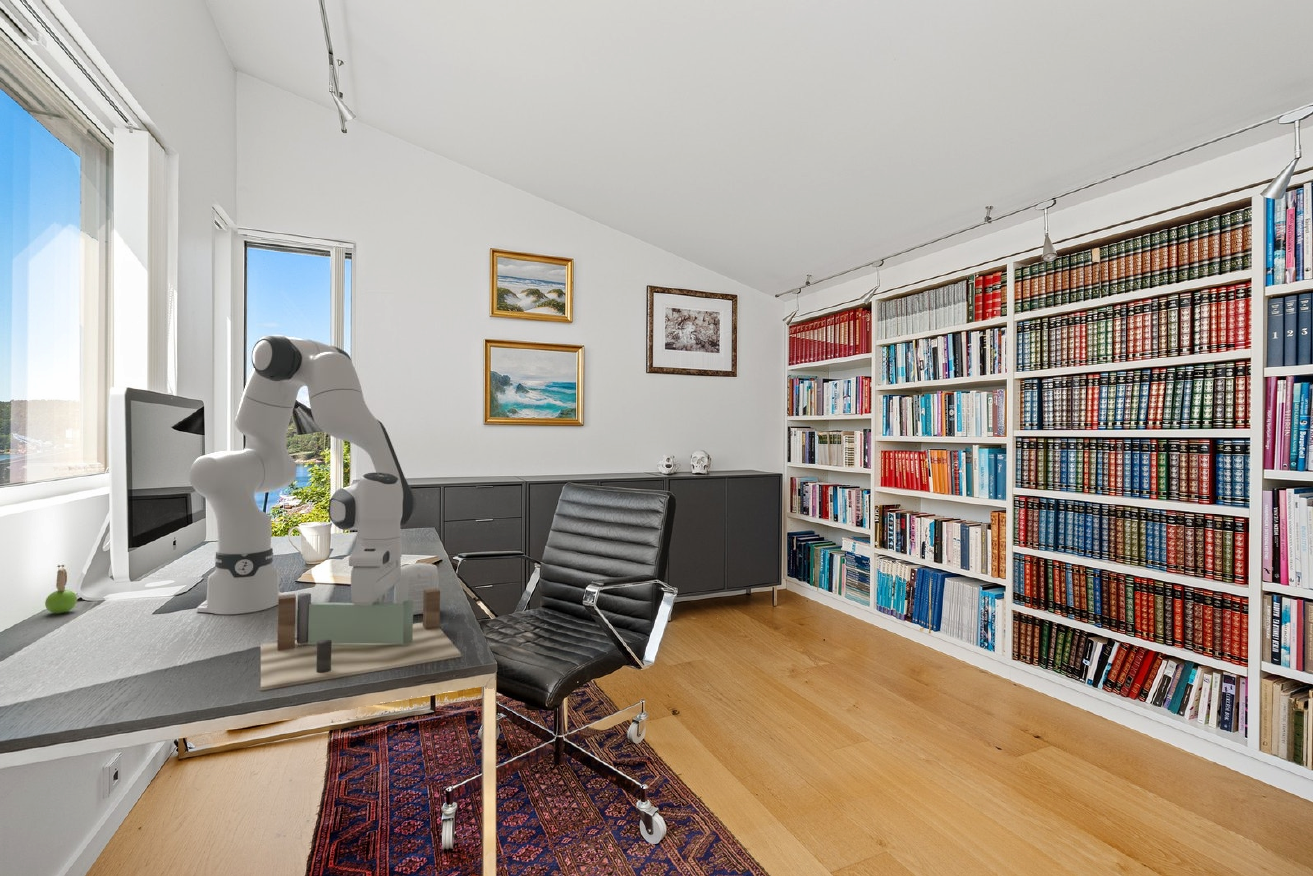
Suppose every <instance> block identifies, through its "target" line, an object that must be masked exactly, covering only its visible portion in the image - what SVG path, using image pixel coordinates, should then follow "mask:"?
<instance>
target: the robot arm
mask: <svg viewBox="0 0 1313 876" xmlns="http://www.w3.org/2000/svg"><path fill="white" fill-rule="evenodd" d="M251 364H252V366H253V369H252V371H251V373H250V375H249V378H248V379H247V382H246V384H245V387H244V390H243V393H242V396H241V399H240V402H239V405H238V409H237V412H236V416H235V418H234V424H235V425H234V426H236V429H237V430H238V431H239V432H240V433H241V434H242V435H244V436H245V446H244V449H243V450H223V451H218V452H212V453H210V454H209V453H208V454H206V455H201V456H199V457H198V458H196V459H195V460H194V461H193V463H192V464H191V467H190V469H189V476H188V477H189V481H190V485H191V487H192V489H194V491H195V492H196V493H198V494H199V495H201V496H202V497H203V498H205V500H207V502H208V504H210V506H211V508H212V510H213V512H214V514H215V517H216V523H217V524H216V525H217V551H216V552H215V557H214V563H215V565H214V566H215V570H214V571H213V572H212V573H210V575H209V576H207V580H206V584H207V585H206V588H207V589H206V600H204V601H203V602H201V604H199V605H198V606H197V607H196V612H197V613H211V614H216V615H238V614H241V615H242V614H248V613H254V612H260V611H263V610H268V609H270V608H273V607H276V606H278V596H280V595H284V593H282V592H281V591H280V571H279V570H278V569H277V568H276V567H275V566H274V565H273V564H272V563H273V562H274V561H273V559H274V550H273V548H272V519H271V517H270V515H269V514H268V513H266V512H265V511H262V510H261V509H260V508H259V506H258V504H257V503H256V499H255V494H262V493H272V492H275V491H278V490H281V489H284V488H286V487H288V486H290V485H292V483H293V482H294V480H295V479H296V477H297V465H296V462H295V460H294V458H293V456H291V455H290V453H289V451H288V447H287V433H288V430H289V429H288V428H289V425H290V422H291V418H292V415H293V411H294V408H295V405H296V402H297V397H298V393H299V392H300V390H301V388H302V387H304V386H306V387H307V395H308V400H309V405H310V410H311V415H312V418H313V421H314V423H315V424H316V426H317V427H318V428H319V429H320V430H321V431H323V432H324V433H325V434H327V435H328V436H331V437H333V438H335V439H338V440H340V441H341V440H342V441H346V442H348V443H350V444H353V445H355V446H357V447H359V448H360V449H362V450H364V451H365V452H366V453H367V454H368V455H369V457H370V459H371V460H370V461H371V462H372V464H373V467H374V470H375V472H368V473H365V474H363V475H362V476H361V477H360V478H359V481H357V482H356V483H353V484H351V485H348V486H345V487H340V488H339V489H337V490H336V491H335V492H334V493H333V495H331V498H330V499H329V503H328V518H329V519H330V521H331V523H332V524H333V525H334V526H336V527H337V528H338V529H340V530H344V531H345V530H346V531H354V530H355V531H357V535H356V543H355V546H354V548H353V550H352V552H351V554H350V555H349V557H348V566H349V567H352V568H351V573H350V597H351V601H352V603H354V605H371V604H372V603H386V599H387V595H388V591H389V590H391V589H392V588H393V587H394V586H395V585H396V584H397V583H398V582H399V581H400V578H401V567H402V564H401V558H402V554H403V553H402V548H403V545H402V544H403V543H402V542H403V541H402V540H403V532H402V528H401V527H404V526H405V525H407V524H408V522H409V521H410V520H411V519H412V517H413V516H414V514H415V512H416V510H417V499H416V496H415V495H416V494H415V493H414V491H413V490H412V488H411V486H410V485H409V483H408V481H407V479H406V477H405V474H404V472H403V470H402V467H401V465H400V462H399V459H398V457H397V454H396V451H395V449H394V446H393V443H392V441H391V439H390V436H389V433H388V431H387V429H386V427H385V426H384V424H383V423H382V422H381V421H380V420H379V419H377V418H376V417H375V416H374V414H372V412H371V411H370V409H369V407H368V405H367V404H366V401H365V399H364V395H363V390H362V386H361V382H360V378H359V377H358V374H357V371H356V369H355V366H354V364H353V362H352V359H351V357H350V355H349V354H348V352H346V351H344V350H343V349H342V348H340V347H337V346H335V345H329V344H325V343H323V342H320V341H319V342H318V341H316V340H312V339H302V338H297V337H289V336H286V335H281V334H267V335H264V336H262V337H260V338H259V339H258V340H257V342H255V344H254V346H253V349H252V352H251Z"/></svg>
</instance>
